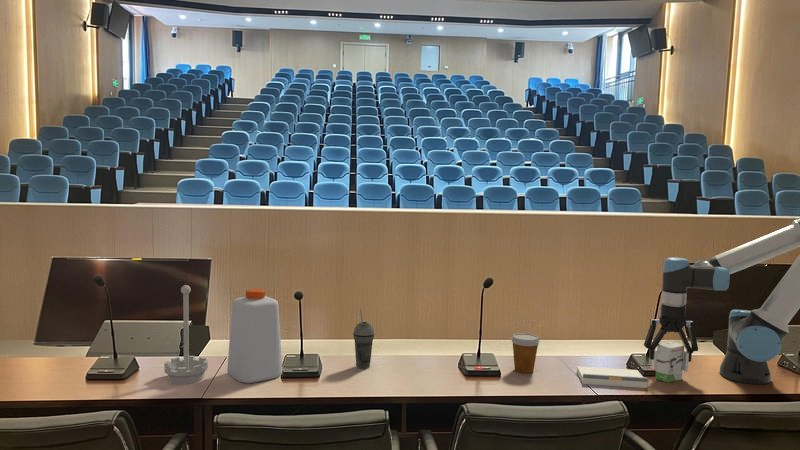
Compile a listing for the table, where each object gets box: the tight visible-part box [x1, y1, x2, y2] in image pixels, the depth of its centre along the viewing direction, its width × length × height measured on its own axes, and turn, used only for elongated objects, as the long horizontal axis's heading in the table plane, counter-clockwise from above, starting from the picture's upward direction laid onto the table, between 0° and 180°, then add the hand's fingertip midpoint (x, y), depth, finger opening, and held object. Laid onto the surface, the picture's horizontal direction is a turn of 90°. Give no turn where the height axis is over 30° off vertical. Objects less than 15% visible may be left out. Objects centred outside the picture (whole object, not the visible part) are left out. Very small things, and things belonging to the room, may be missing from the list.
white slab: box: [576, 365, 649, 389], centre depth 199 cm, size 20×12×3 cm, turn 83°
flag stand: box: [163, 284, 209, 385], centre depth 189 cm, size 13×13×30 cm
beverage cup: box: [352, 309, 375, 370], centre depth 205 cm, size 7×7×20 cm
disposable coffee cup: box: [511, 332, 540, 374], centre depth 206 cm, size 10×10×12 cm
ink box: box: [655, 341, 685, 384], centre depth 201 cm, size 9×5×12 cm, turn 123°
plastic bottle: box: [227, 288, 283, 384], centre depth 194 cm, size 15×15×28 cm
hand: (669, 369), depth 201 cm, fingers open, 9 cm apart
